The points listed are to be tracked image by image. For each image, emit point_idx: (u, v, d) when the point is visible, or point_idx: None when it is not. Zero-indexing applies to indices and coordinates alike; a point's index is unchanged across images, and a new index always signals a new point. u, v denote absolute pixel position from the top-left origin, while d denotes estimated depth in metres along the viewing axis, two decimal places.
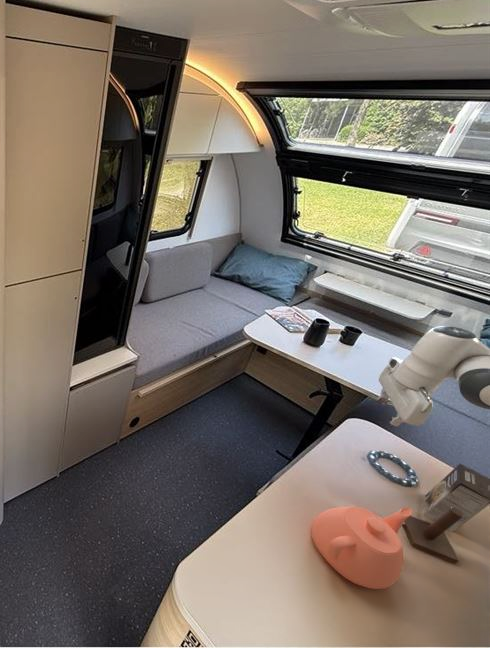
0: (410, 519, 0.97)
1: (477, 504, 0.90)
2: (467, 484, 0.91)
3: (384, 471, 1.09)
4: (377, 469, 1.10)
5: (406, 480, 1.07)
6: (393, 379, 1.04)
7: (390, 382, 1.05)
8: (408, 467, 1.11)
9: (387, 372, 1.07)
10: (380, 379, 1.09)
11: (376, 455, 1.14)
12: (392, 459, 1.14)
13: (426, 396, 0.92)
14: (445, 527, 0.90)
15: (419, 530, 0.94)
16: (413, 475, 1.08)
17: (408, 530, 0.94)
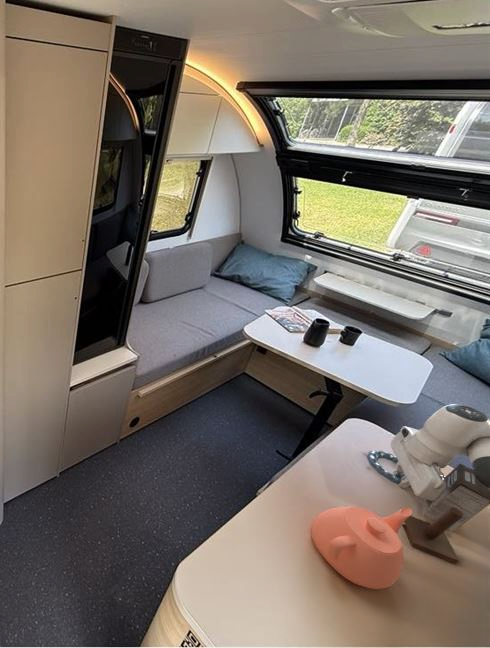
0: (410, 519, 0.97)
1: (477, 504, 0.90)
2: (467, 484, 0.91)
3: (384, 471, 1.09)
4: (377, 469, 1.10)
5: None
6: (405, 448, 1.07)
7: (402, 450, 1.07)
8: None
9: (399, 439, 1.09)
10: (392, 445, 1.12)
11: (376, 455, 1.14)
12: (392, 459, 1.14)
13: (439, 473, 0.94)
14: (445, 527, 0.90)
15: (419, 530, 0.94)
16: None
17: (408, 530, 0.94)
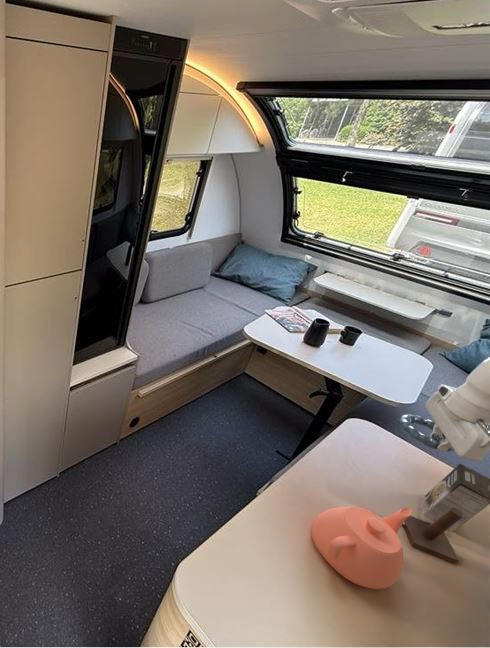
0: (410, 519, 0.97)
1: (477, 504, 0.90)
2: (467, 484, 0.91)
3: (420, 434, 1.00)
4: (412, 433, 1.01)
5: None
6: (443, 408, 0.98)
7: (439, 411, 0.98)
8: None
9: (435, 399, 1.01)
10: (427, 406, 1.03)
11: (409, 419, 1.05)
12: (427, 423, 1.05)
13: (486, 430, 0.85)
14: (445, 527, 0.90)
15: (419, 530, 0.94)
16: None
17: (408, 530, 0.94)
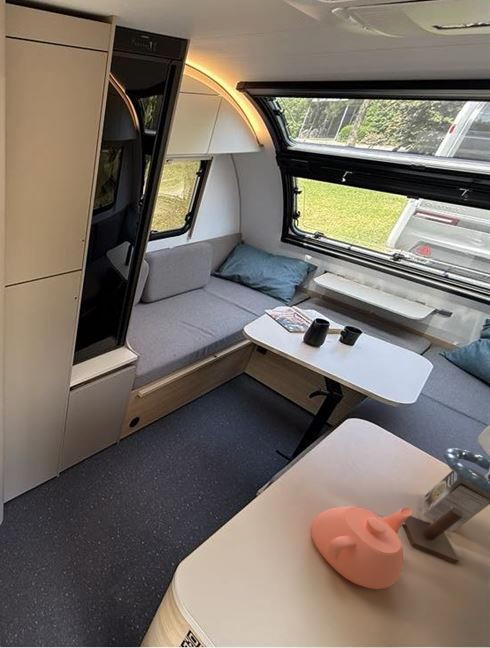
0: (410, 519, 0.97)
1: (477, 504, 0.90)
2: (467, 484, 0.91)
3: (473, 474, 0.83)
4: (462, 472, 0.84)
5: None
6: None
7: None
8: None
9: None
10: (481, 440, 0.85)
11: (457, 454, 0.88)
12: (478, 460, 0.88)
13: None
14: (445, 527, 0.90)
15: (419, 530, 0.94)
16: None
17: (408, 530, 0.94)
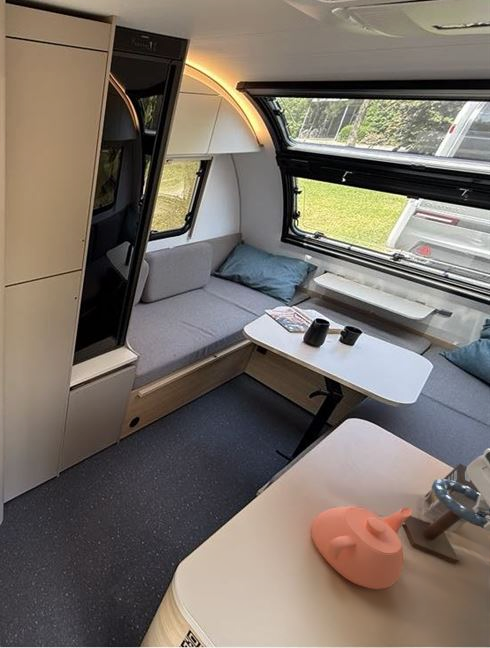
0: (410, 519, 0.97)
1: None
2: (467, 484, 0.91)
3: (461, 507, 0.83)
4: (450, 504, 0.85)
5: None
6: None
7: (486, 481, 0.82)
8: None
9: (480, 465, 0.84)
10: (469, 472, 0.86)
11: (445, 485, 0.89)
12: (465, 491, 0.89)
13: None
14: (445, 527, 0.90)
15: (419, 530, 0.94)
16: None
17: (408, 530, 0.94)
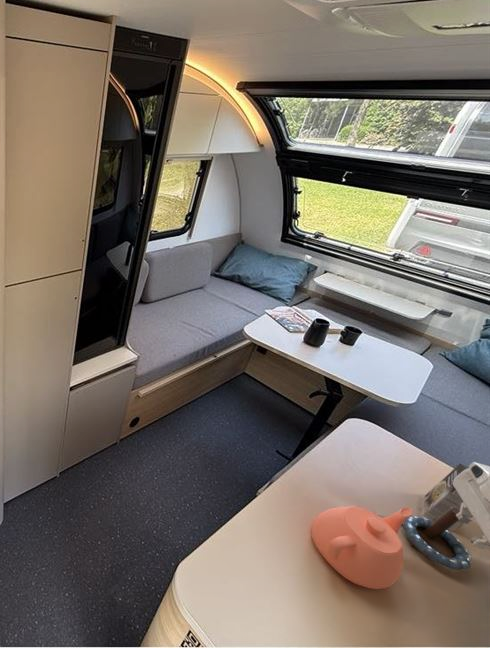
0: None
1: None
2: None
3: (428, 548, 0.88)
4: (418, 544, 0.90)
5: (456, 561, 0.86)
6: (477, 491, 0.83)
7: (472, 493, 0.84)
8: (456, 541, 0.90)
9: (466, 478, 0.86)
10: (455, 484, 0.88)
11: (415, 524, 0.93)
12: None
13: None
14: (445, 527, 0.90)
15: (419, 530, 0.94)
16: (464, 553, 0.88)
17: None
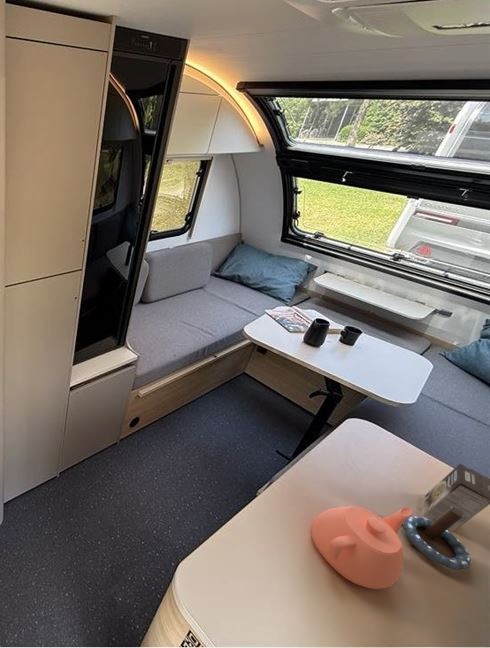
0: None
1: (477, 504, 0.90)
2: (467, 484, 0.91)
3: (428, 548, 0.88)
4: (418, 544, 0.90)
5: (456, 561, 0.86)
6: None
7: None
8: (456, 541, 0.90)
9: None
10: None
11: (415, 524, 0.93)
12: None
13: None
14: (445, 527, 0.90)
15: (419, 530, 0.94)
16: (464, 553, 0.88)
17: None
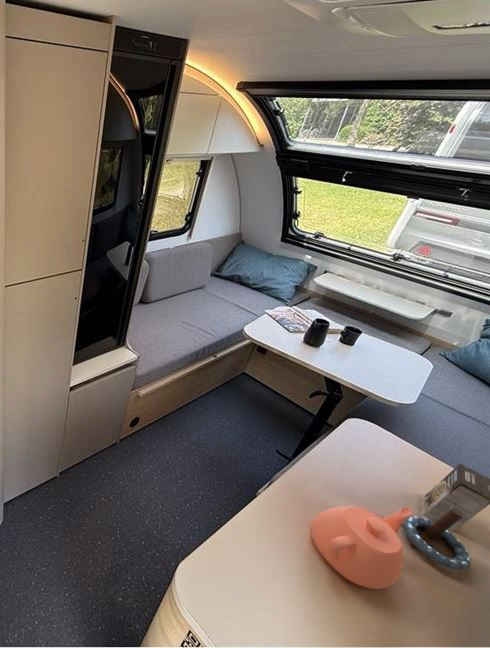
0: None
1: (477, 504, 0.90)
2: (467, 484, 0.91)
3: (428, 548, 0.88)
4: (418, 544, 0.90)
5: (456, 561, 0.86)
6: None
7: None
8: (456, 541, 0.90)
9: None
10: None
11: (415, 524, 0.93)
12: None
13: None
14: (445, 527, 0.90)
15: (419, 530, 0.94)
16: (464, 553, 0.88)
17: None
